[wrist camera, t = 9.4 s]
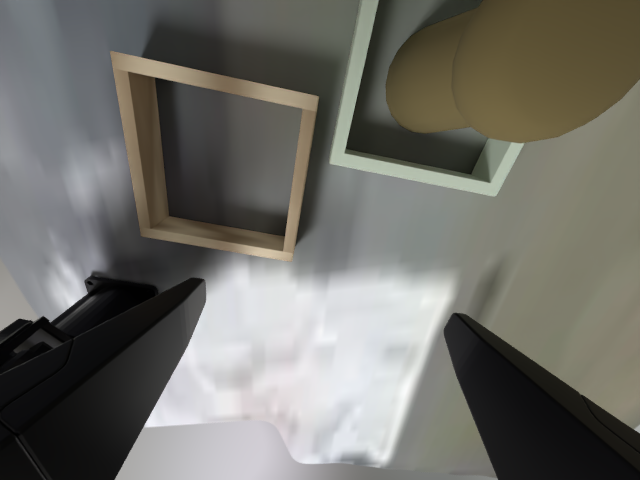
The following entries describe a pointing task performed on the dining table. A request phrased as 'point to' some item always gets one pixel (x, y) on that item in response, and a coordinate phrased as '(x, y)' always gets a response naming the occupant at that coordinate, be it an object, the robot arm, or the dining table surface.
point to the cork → (517, 68)
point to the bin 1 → (148, 161)
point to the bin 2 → (481, 180)
